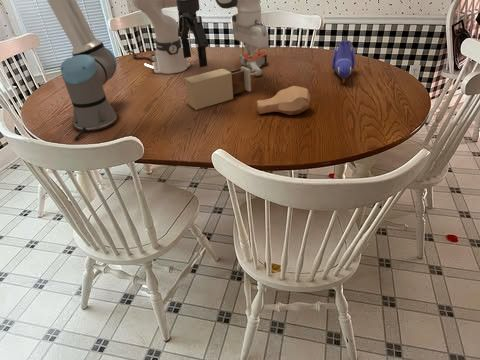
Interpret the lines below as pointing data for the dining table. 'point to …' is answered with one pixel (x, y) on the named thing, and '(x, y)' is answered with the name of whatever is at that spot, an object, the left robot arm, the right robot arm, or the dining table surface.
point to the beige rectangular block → (209, 88)
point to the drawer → (242, 79)
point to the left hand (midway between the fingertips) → (195, 61)
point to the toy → (343, 59)
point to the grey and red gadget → (254, 61)
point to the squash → (286, 101)
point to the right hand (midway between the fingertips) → (250, 55)
